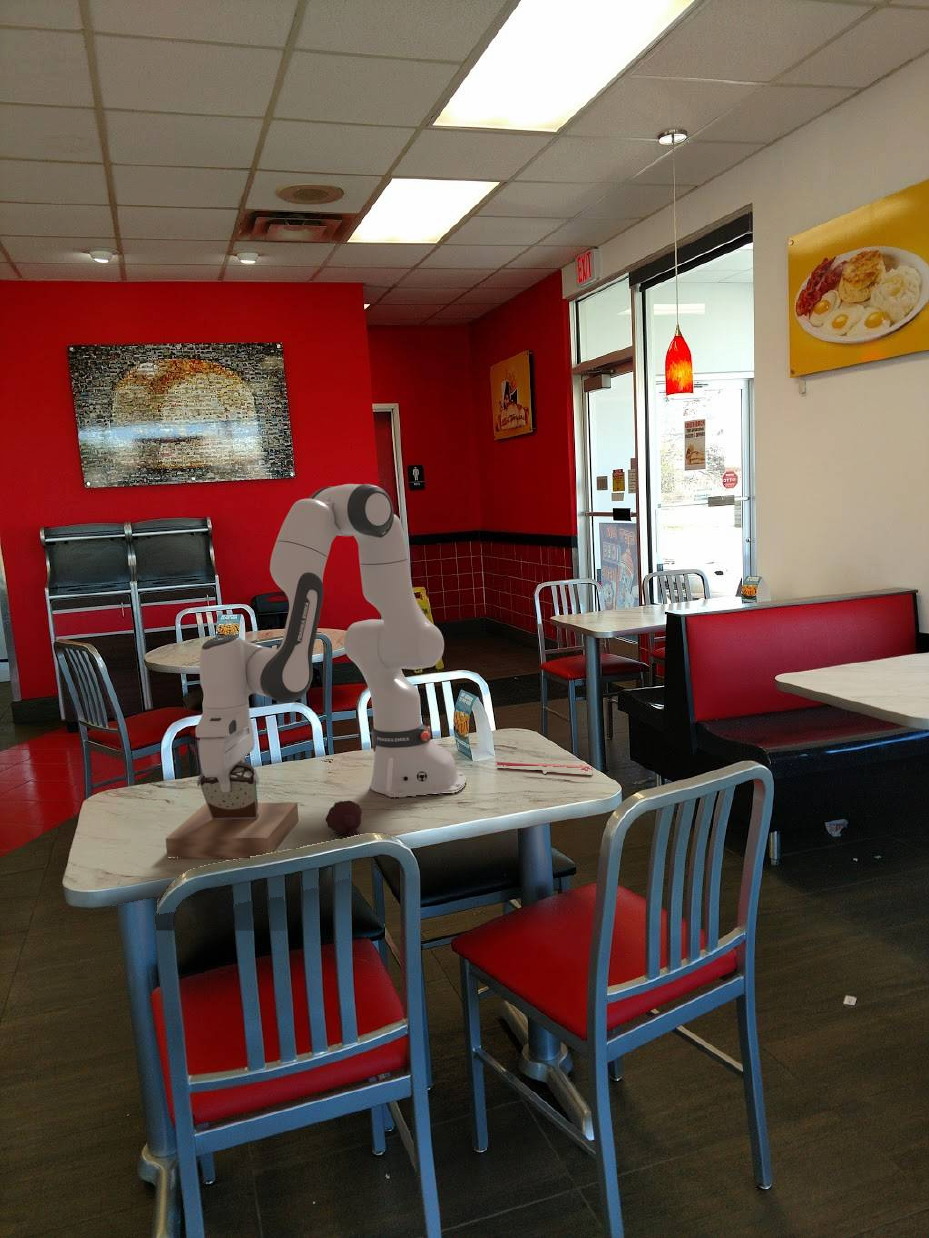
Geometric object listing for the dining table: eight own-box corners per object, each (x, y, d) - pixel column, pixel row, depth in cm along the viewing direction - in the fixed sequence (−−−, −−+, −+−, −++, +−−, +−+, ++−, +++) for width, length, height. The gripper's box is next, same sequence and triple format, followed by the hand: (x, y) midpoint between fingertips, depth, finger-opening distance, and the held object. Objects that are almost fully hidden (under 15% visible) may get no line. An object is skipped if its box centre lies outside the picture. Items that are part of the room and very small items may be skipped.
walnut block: (298, 820, 190) (297, 802, 189) (269, 858, 170) (267, 837, 170) (207, 821, 192) (205, 803, 191) (167, 858, 172) (165, 838, 172)
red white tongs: (590, 782, 210) (594, 770, 214) (589, 774, 209) (593, 763, 213) (493, 775, 219) (499, 764, 223) (492, 767, 218) (498, 756, 222)
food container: (272, 800, 185) (264, 759, 181) (264, 818, 180) (256, 776, 176) (214, 801, 186) (205, 760, 182) (205, 819, 181) (195, 777, 177)
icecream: (314, 795, 186) (330, 824, 172) (347, 781, 188) (366, 809, 174) (323, 824, 188) (341, 855, 174) (356, 810, 190) (376, 839, 176)
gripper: (230, 706, 188) (235, 770, 190) (191, 731, 168) (197, 802, 170) (259, 705, 188) (264, 769, 190) (223, 730, 168) (229, 802, 169)
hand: (232, 785), depth 180 cm, fingers closed on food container, 5 cm apart
